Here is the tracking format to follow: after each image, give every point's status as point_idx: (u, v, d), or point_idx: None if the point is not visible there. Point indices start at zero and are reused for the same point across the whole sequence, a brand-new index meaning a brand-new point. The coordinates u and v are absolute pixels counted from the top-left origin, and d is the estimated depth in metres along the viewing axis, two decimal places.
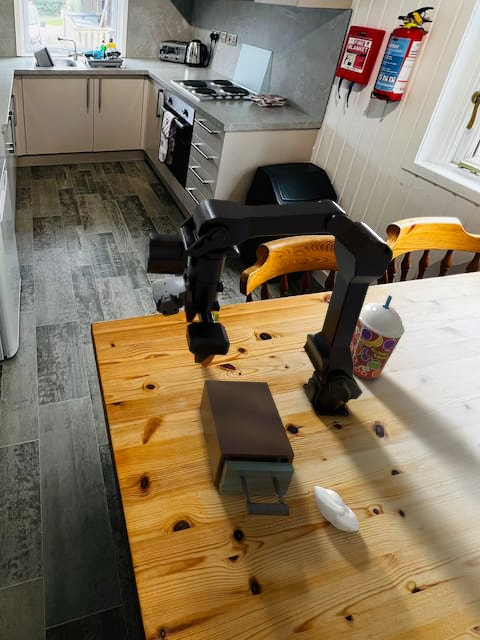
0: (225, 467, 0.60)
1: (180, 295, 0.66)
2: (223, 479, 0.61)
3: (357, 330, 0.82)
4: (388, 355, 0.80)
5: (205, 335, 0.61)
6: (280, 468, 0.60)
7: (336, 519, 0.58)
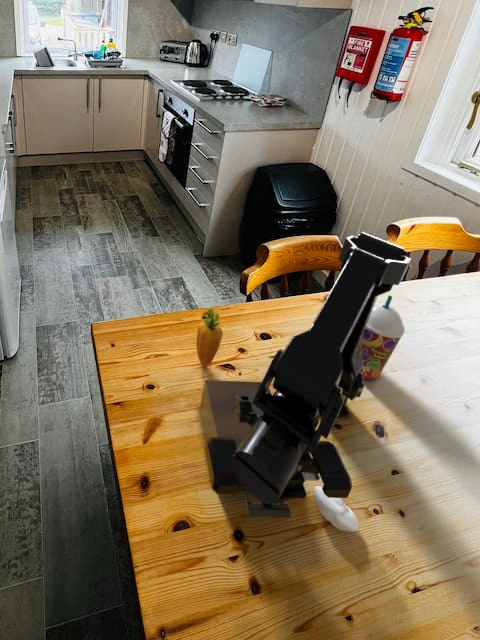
0: None
1: (255, 417, 0.57)
2: None
3: None
4: (388, 355, 0.80)
5: (217, 450, 0.55)
6: None
7: (336, 519, 0.58)
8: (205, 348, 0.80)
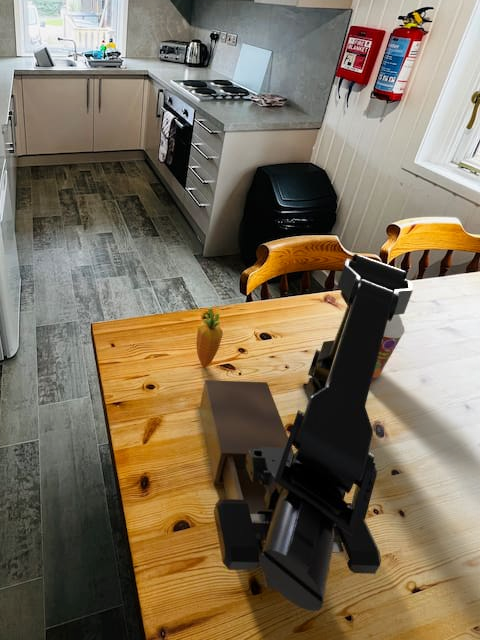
0: None
1: (271, 476, 0.51)
2: None
3: None
4: (388, 355, 0.80)
5: (229, 516, 0.49)
6: None
7: None
8: (205, 348, 0.80)
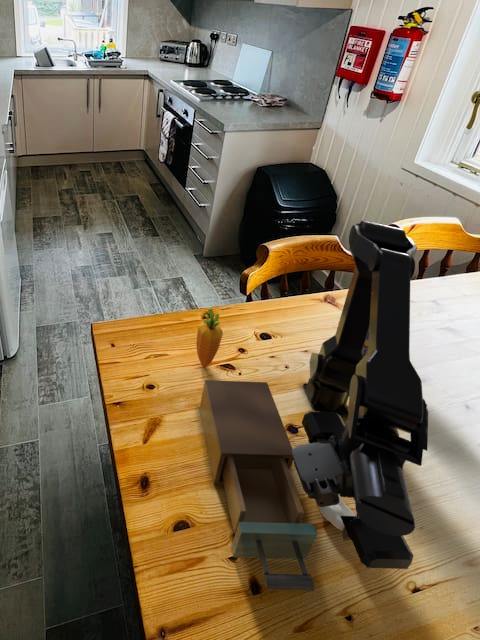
0: (239, 530, 0.53)
1: (337, 478, 0.54)
2: (237, 542, 0.54)
3: None
4: None
5: (382, 544, 0.49)
6: (301, 531, 0.53)
7: (336, 519, 0.58)
8: (205, 348, 0.80)
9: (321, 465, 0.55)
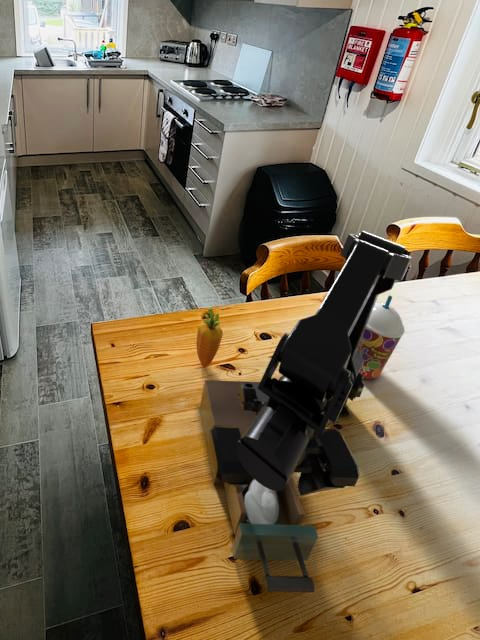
0: (239, 531, 0.53)
1: (260, 404, 0.56)
2: (238, 544, 0.54)
3: None
4: (388, 355, 0.80)
5: (221, 437, 0.53)
6: (302, 533, 0.53)
7: (247, 492, 0.59)
8: (205, 348, 0.80)
9: (268, 396, 0.57)
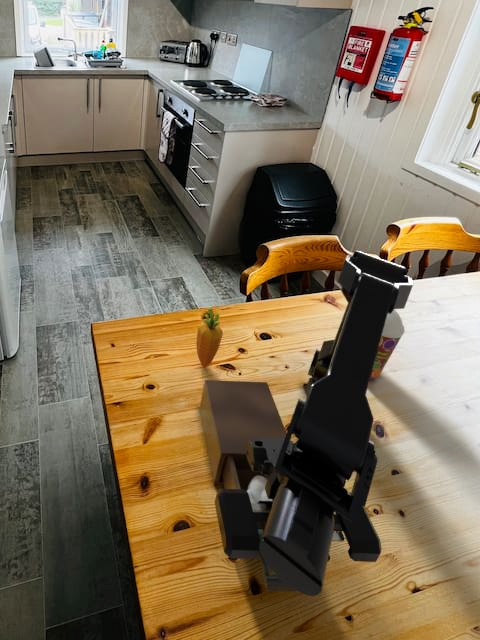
0: None
1: (271, 466, 0.51)
2: None
3: None
4: (388, 355, 0.80)
5: (229, 506, 0.49)
6: None
7: None
8: (205, 348, 0.80)
9: None
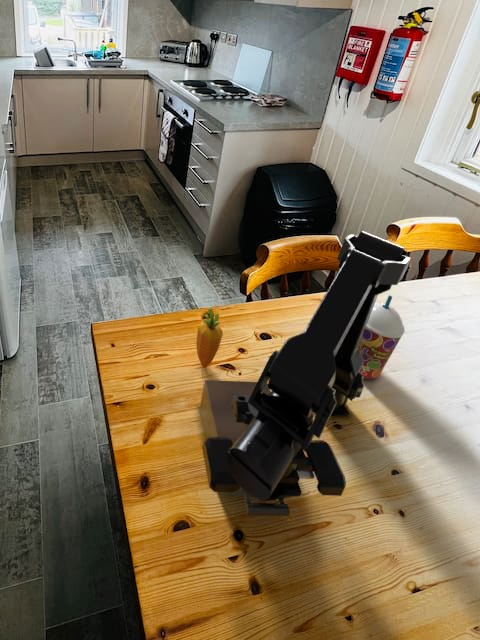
0: None
1: (252, 416, 0.59)
2: None
3: None
4: (388, 355, 0.80)
5: (215, 449, 0.56)
6: None
7: None
8: (205, 348, 0.80)
9: None
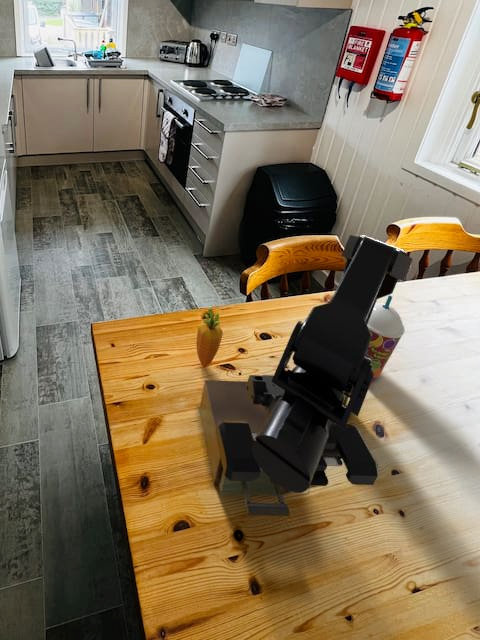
0: None
1: (271, 397, 0.52)
2: (224, 479, 0.61)
3: None
4: (388, 355, 0.80)
5: (230, 433, 0.50)
6: None
7: None
8: (205, 348, 0.80)
9: (279, 389, 0.54)
